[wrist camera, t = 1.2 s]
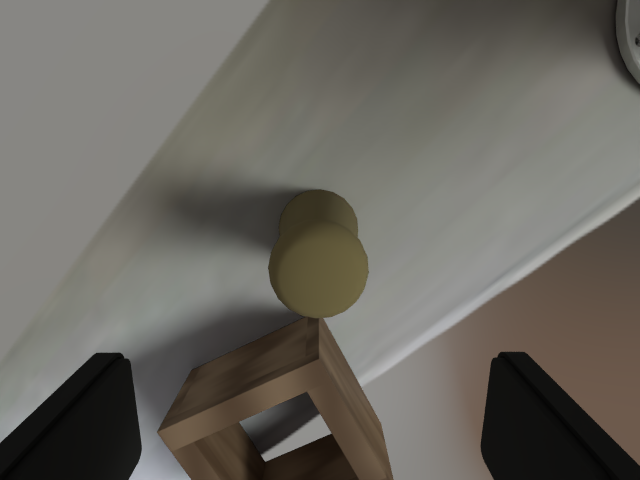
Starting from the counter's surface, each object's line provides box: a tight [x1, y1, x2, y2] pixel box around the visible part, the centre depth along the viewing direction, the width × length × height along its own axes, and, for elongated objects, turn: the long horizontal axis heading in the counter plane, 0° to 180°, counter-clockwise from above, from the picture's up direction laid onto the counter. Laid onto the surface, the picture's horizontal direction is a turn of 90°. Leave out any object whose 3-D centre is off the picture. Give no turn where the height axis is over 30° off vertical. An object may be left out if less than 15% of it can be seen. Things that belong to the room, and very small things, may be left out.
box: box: [157, 317, 393, 480], centre depth 29 cm, size 12×12×7 cm
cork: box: [268, 190, 369, 318], centre depth 23 cm, size 6×6×11 cm
